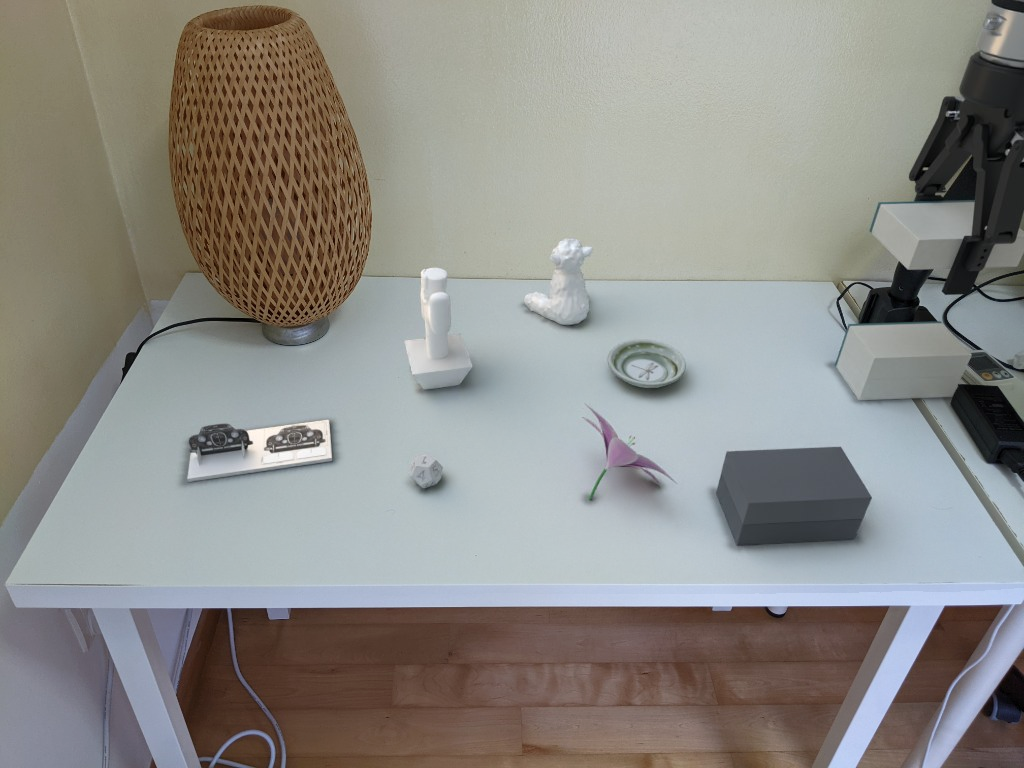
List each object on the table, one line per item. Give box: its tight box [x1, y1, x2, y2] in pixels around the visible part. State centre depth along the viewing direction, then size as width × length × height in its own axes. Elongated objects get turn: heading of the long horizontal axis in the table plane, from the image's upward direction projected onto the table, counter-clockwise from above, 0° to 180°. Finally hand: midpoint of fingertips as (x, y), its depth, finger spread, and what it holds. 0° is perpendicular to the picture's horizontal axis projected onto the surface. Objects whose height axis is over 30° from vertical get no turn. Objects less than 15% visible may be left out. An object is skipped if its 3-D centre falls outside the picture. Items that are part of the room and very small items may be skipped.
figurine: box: [403, 267, 474, 391], centre depth 92 cm, size 7×9×15 cm
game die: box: [407, 453, 444, 489], centre depth 82 cm, size 4×4×3 cm
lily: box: [581, 402, 678, 501], centre depth 80 cm, size 12×12×10 cm
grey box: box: [715, 446, 873, 546], centre depth 77 cm, size 12×7×6 cm, turn 94°
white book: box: [869, 199, 1024, 271], centre depth 83 cm, size 12×9×4 cm
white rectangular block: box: [834, 320, 973, 401], centre depth 96 cm, size 12×7×6 cm, turn 94°
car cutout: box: [186, 418, 333, 483], centre depth 84 cm, size 15×7×4 cm, turn 103°
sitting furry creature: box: [524, 237, 594, 326], centre depth 105 cm, size 10×9×12 cm
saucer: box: [606, 338, 687, 389], centre depth 97 cm, size 10×10×2 cm
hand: (932, 270), depth 86 cm, fingers closed on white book, 9 cm apart
